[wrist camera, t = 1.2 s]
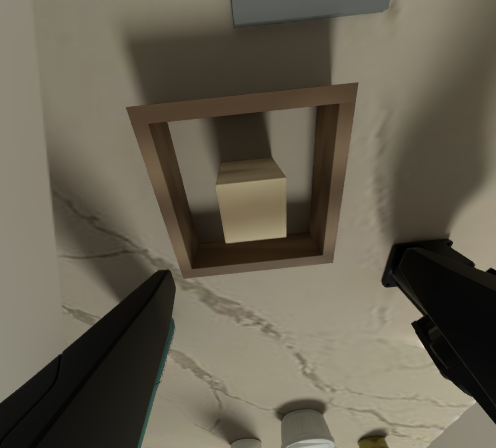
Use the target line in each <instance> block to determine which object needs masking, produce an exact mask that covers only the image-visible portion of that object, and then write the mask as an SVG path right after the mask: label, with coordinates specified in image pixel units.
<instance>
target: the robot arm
mask: <svg viewBox="0 0 496 448" xmlns="http://www.w3.org/2000/svg"><path fill="white" fill-rule="evenodd" d="M452 244H453V242H452V241H451V240H449V239H441V240H431V241H422V242H413V243H403V244H397V245H395V246H394V247H393V250H392V253H391V256H390V259H389V262H388V266H387V269H386V272H385V275H384V278H383V281H382V285H383V286H384V287H386V288H387V287H398V288H399V289H400V290H401V291H402V292H403V293H404V294H405V295H406V297H407V298H408V299H409V300H410V301H411V302H412V303H413V304H414V306H415V307H416V308H417V309H418V310H419V311H420V312H421V313H422V314H423V317H422V318H420V319H419V320H417V321H414V322H412V323H411V325H412V326H413V328H414V329H415V332H416V334H417V336H418V337H419V339H420V341H421V342H422V344H423V345H424V347H425V349H426V350H427V352H428V354H429V355H430V357H431V358H432V360H433V362H434V363H435V365H436V366H437V368H438V369H439V372H440V373H441V375H442V376H443V377H444V378H445V379H448V380H450V381H452V382H453V383H454V384H455V385H456V386H457V387H458V388H459V389H460V390H462V391H463V392H464V393H466V394H467V395H469V396H471V397H473V398H474V399H475V400H476V401H477V402H478V403H479V405H480V406H481V407H482V408H483V409H484V411H485V412H486V413H487V414H488V415H489V417H490V418H491V419H492V420H493V422H494V423H495V424H496V270H494V269H493V268H490V269H488V270H487V271H486V272H484V271H482V270H479V269H476V268H475V267H474V266H475V264H474V263H473V262H472V261H471V260H469V259H468V258H466V257H465V256H463V255H462V254H460V253H459V252H457V251H455V250H454V249H452V248H451V246H452ZM175 291H176V287H175V283H174V280H173V277H172V274H171V271H170V270H168V269H167V270H158V271H157V272H155V273H154V274H153V275H152V276H151V277H150V278H148V279H147V280H146V281H145V282H144V283H143V284H141V285H140V286H139V287H138V288H137V289H136V290H134V291H133V292H132V293H131V294H130V295H129V296H127V297H126V298H125V299H124V300H123V301H121V302H120V303H119V304H118V305H117V306H116V307H114V308H113V309H112V310H111V311H110V312H109V313H107V314H106V315H105V316H104V317H103V318H102V319H100V320H99V321H98V322H97V323H96V324H95V325H93V326H92V327H91V328H90V329H89V330H88V331H86V332H85V333H84V334H83V335H82V336H81V337H79V338H78V339H77V340H76V341H75V342H73V343H72V344H71V345H70V346H69V347H68V348H66V349H65V350H64V351H63V352H62V354H60V355H58V356H57V357H56V358H55V359H54V360H52V361H51V362H50V363H49V364H48V365H46V366H45V367H44V368H43V369H42V370H40V372H38V373H37V374H36V375H35V376H33V377H32V378H31V379H30V380H28V381H27V382H26V383H25V384H24V385H22V386H21V387H20V388H19V389H18V390H16V391H15V392H14V393H12V394H11V395H10V396H9V397H7V398H6V399H5V400H4V401H2V402H1V403H0V448H138V444H139V440H140V437H141V433H142V429H143V426H144V422H145V418H146V415H147V411H148V407H149V403H150V400H151V396H152V392H153V389H154V385H155V381H156V378H157V374H158V370H159V367H160V363H161V359H162V356H163V352H164V348H165V345H166V341H167V337H168V333H169V329H170V323H171V317H172V310H173V304H174V298H175Z"/></svg>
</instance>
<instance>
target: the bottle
mask: <svg viewBox="0 0 496 448" xmlns="http://www.w3.org/2000/svg"><path fill="white" fill-rule="evenodd" d="M231 448H261V442H260V441H259V440H256V439H240V440H237V441H234V442H233V443H232V444H231Z"/></svg>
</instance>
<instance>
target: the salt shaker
mask: <svg viewBox="0 0 496 448" xmlns="http://www.w3.org/2000/svg"><path fill="white" fill-rule="evenodd" d="M358 446H359V448H389V447H388V445H387V443H386V441H385V439H384V438H383V437H381V436H372V437H367V438H364V439H362V440H360V441H359V442H358Z"/></svg>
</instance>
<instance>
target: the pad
mask: <svg viewBox="0 0 496 448" xmlns="http://www.w3.org/2000/svg"><path fill="white" fill-rule="evenodd" d="M389 1H390V0H232V10H233V20H234V28H236V27H246V26H255V25H264V24H274V23H283V22H293V21H302V20H311V19H321V18H330V17H340V16H349V15H358V14H368V13H377V12H383V11H385V10H386V9H388V6H389Z"/></svg>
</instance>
